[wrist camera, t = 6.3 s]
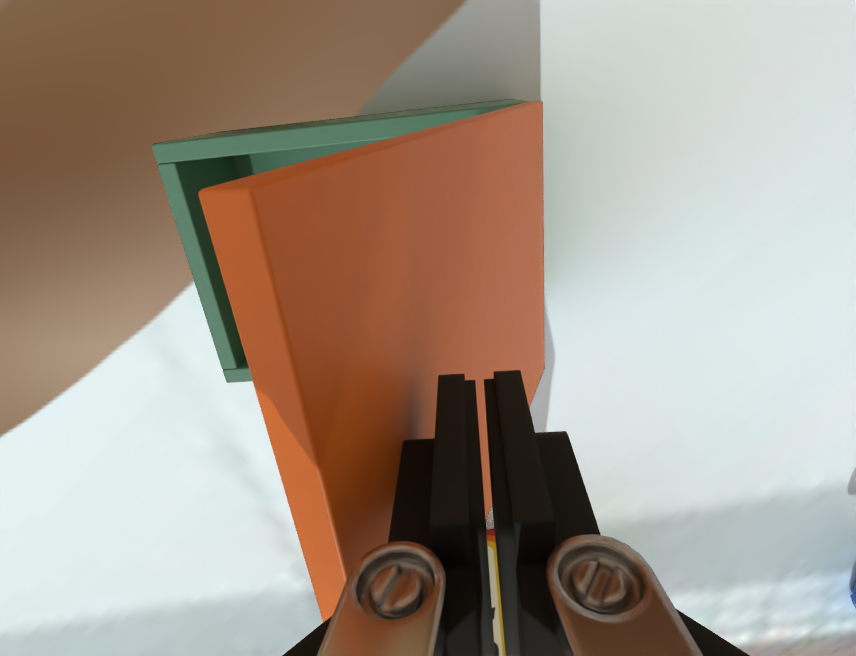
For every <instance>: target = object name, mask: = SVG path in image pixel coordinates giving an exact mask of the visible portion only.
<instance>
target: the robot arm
mask: <svg viewBox="0 0 856 656" xmlns="http://www.w3.org/2000/svg"><path fill="white" fill-rule="evenodd" d="M484 392H485V407H486V422H487V437H488V452H489V467H490V482H491V495H492V506H493V517H494V529H495V540H496V551H497V563H498V574H499V585H500V597H501V608H502V619H503V631H504V642H505V653H506V656H749V655H748V654H746V653H745V652H743V651H742V650H740V649H738V648H737V647H735V646H734V645H732V644H731V643H729V642H727V641H726V640H724V639H723V638H721V637H719V636H718V635H716V634H715V633H713V632H712V631H710V630H708V629H707V628H705V627H704V626H702V625H701V624H699V623H697V622H696V621H694V620H693V619H691V618H690V617H688V616H686V615H685V614H683V613H682V612H680V611H678V610H677V609H675V607H674V606H673V604H672V602H671V601H670V599H669V597H668V596H667V594H666V592H665V590H664V589H663V587H662V585H661V584H660V582H659V580H658V579H657V577H656V575H655V574H654V572H653V570H652V569H651V567H650V566H649V565H648V563H647V562H646V561H645V560H644V558H643V557H642V556H641V555H640V554H639V553H638V552H636V551H635V550H634V549H632V548H631V547H630V546H628V545H627V544H625V543H622V542H620V541H618V540H616V539H614V538H611V537H606V536H601V535H600V532H599V529H598V526H597V522H596V519H595V516H594V513H593V510H592V507H591V504H590V501H589V498H588V495H587V492H586V489H585V486H584V483H583V479H582V476H581V473H580V470H579V467H578V464H577V461H576V458H575V455H574V452H573V449H572V446H571V443H570V439H569V437H568V434H567V433H566V432H565V431H562V432H543V433H535V431H534V427H533V423H532V418H531V414H530V410H529V405H528V401H527V397H526V392H525V388H524V384H523V379H522V375H521V371H520V370H509V371H494V379H484ZM283 656H495V647H494V633H493V619H492V604H491V590H490V575H489V561H488V547H487V532H486V518H485V504H484V489H483V476H482V463H481V449H480V436H479V422H478V409H477V396H476V382H475V380H465V374H464V373H463V374H448V375H438V389H437V405H436V422H435V438H431V439H412V440H404V442H403V445H402V451H401V458H400V464H399V471H398V478H397V484H396V491H395V498H394V504H393V511H392V518H391V524H390V531H389V538H388V543H387V544H383V545H380V546H377V547H376V548H374V549H372V550H371V551H369V552H367V553H366V554H365V555H364V556H363V557H362V558H361V559H360V560H359V561H357V562H356V563H355V565H354V567H353V568H352V570H351V572H350V574H349V575H348V577H347V580H346V582H345V585H344V587H343V590H342V593H341V595H340V598H339V600H338V603H337V605H336V608H335V611H334V613H333V615H332V616H331V617H330V618H329V619H327V620H326V621H325V622H324V623H322V624H321V625H320V626H319V627H317V628H316V629H315V630H314V631H312V632H311V633H310V634H309V635H307V636H306V637H305V638H304V639H302V640H301V641H300V642H299V643H297V644H296V645H295V646H294V647H293V648H291V649H290V650H289V651H288V652H286V653H285V654H284V655H283Z"/></svg>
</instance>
